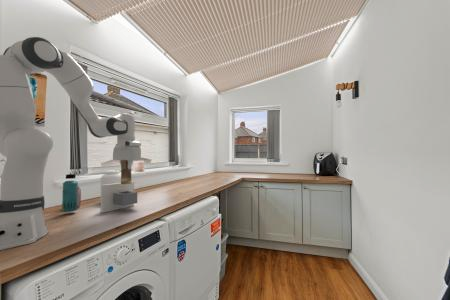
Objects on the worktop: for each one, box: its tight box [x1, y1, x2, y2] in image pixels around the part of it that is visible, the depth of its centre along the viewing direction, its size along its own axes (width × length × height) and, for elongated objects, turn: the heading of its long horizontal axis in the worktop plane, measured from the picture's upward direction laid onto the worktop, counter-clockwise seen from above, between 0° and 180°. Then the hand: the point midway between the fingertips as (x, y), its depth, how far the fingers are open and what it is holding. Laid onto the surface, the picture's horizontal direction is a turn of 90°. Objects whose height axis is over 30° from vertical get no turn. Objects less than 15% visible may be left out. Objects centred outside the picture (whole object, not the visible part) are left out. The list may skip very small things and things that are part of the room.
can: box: [100, 169, 121, 186], centre depth 136 cm, size 12×12×20 cm
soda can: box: [77, 185, 82, 209], centre depth 119 cm, size 7×7×12 cm
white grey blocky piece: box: [100, 181, 138, 213], centre depth 116 cm, size 18×12×14 cm, turn 148°
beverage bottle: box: [61, 173, 79, 213], centre depth 108 cm, size 6×7×20 cm
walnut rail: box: [120, 160, 133, 184], centre depth 115 cm, size 4×4×16 cm
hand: (126, 168), depth 115 cm, fingers closed on walnut rail, 4 cm apart
